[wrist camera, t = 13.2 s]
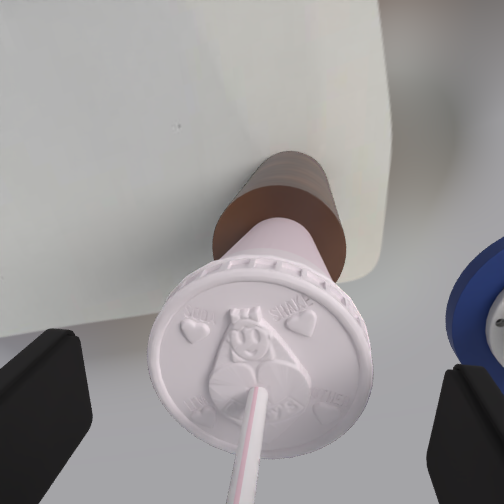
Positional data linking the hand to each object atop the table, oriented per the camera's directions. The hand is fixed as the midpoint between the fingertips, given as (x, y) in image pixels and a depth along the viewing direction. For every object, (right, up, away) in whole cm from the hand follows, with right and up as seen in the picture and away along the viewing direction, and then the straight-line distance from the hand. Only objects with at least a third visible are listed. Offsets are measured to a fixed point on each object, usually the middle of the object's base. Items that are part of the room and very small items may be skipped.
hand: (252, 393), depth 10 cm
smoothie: (+1, +4, +10) cm, 11 cm away
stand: (+3, +9, +25) cm, 26 cm away
